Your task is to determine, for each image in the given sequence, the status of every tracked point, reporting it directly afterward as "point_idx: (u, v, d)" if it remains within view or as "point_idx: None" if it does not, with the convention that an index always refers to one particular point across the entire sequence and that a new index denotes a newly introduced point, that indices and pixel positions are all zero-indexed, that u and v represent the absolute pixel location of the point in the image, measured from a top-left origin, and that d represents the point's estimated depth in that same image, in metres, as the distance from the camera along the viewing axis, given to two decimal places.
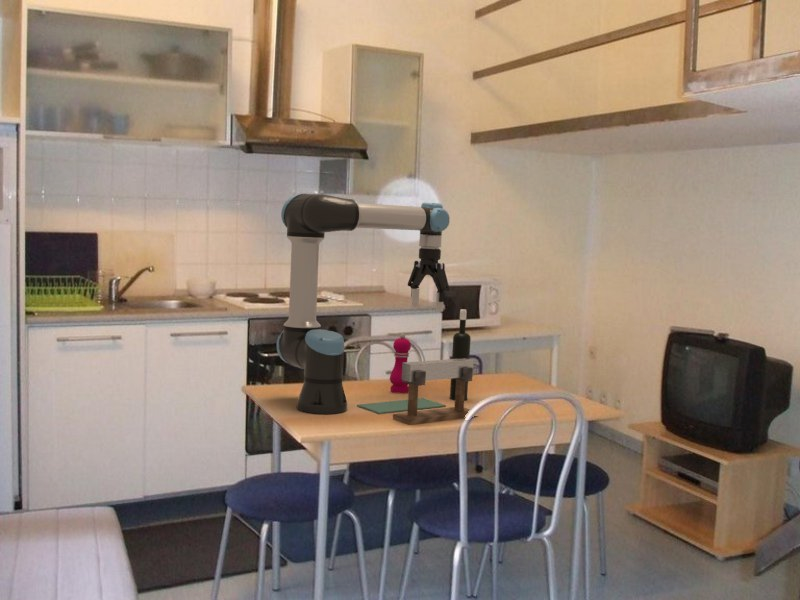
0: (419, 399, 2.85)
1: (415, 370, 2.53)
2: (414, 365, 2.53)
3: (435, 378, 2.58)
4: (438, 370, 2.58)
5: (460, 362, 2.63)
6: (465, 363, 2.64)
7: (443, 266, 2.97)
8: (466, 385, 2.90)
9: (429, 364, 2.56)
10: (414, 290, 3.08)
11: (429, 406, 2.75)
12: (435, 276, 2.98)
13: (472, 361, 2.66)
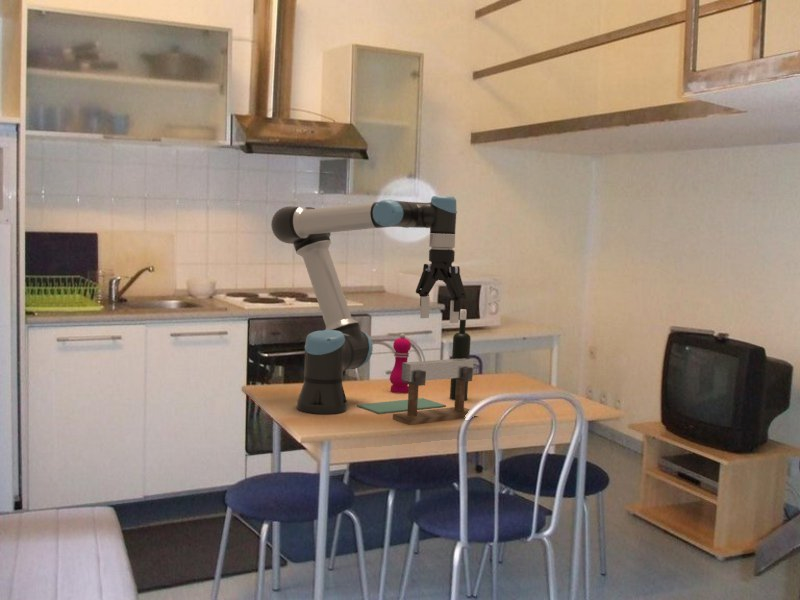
0: (419, 399, 2.85)
1: (415, 370, 2.53)
2: (414, 365, 2.53)
3: (435, 378, 2.58)
4: (438, 370, 2.58)
5: (460, 362, 2.63)
6: (465, 363, 2.64)
7: (457, 270, 2.54)
8: (466, 385, 2.90)
9: (429, 364, 2.56)
10: (424, 298, 2.65)
11: (429, 406, 2.75)
12: (449, 281, 2.55)
13: (472, 361, 2.66)
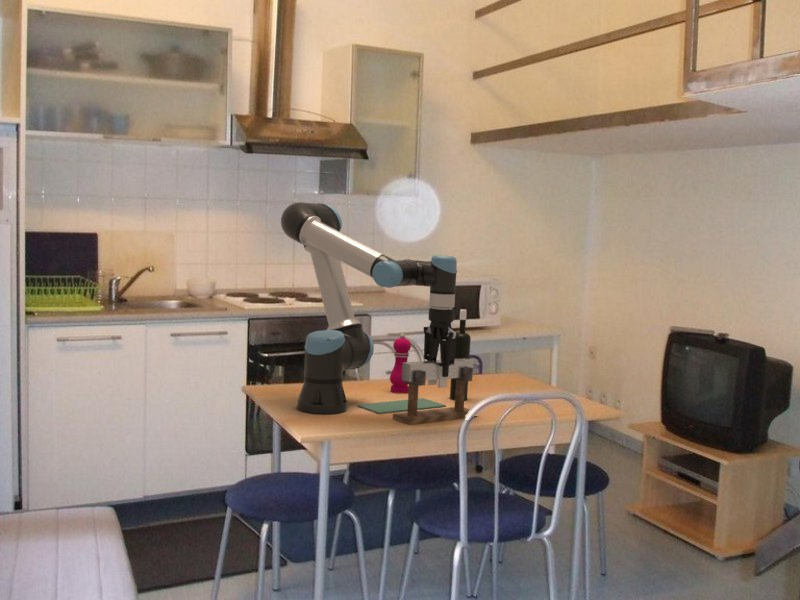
0: (419, 399, 2.85)
1: (415, 370, 2.53)
2: (414, 365, 2.53)
3: (435, 378, 2.58)
4: (438, 370, 2.58)
5: (460, 362, 2.63)
6: (465, 363, 2.64)
7: (455, 336, 2.55)
8: (466, 385, 2.90)
9: (429, 364, 2.56)
10: None
11: (429, 406, 2.75)
12: (443, 345, 2.57)
13: (472, 361, 2.66)
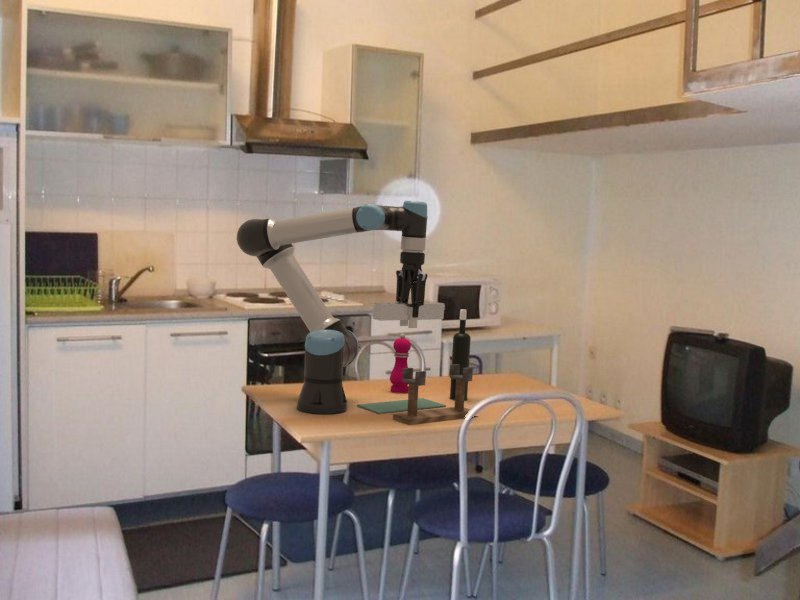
0: (419, 399, 2.85)
1: (385, 309, 2.64)
2: (385, 304, 2.64)
3: (405, 318, 2.69)
4: (408, 310, 2.69)
5: (431, 304, 2.74)
6: (435, 305, 2.75)
7: (425, 278, 2.66)
8: (466, 385, 2.90)
9: (400, 304, 2.67)
10: None
11: (429, 406, 2.75)
12: (414, 286, 2.68)
13: (443, 304, 2.77)
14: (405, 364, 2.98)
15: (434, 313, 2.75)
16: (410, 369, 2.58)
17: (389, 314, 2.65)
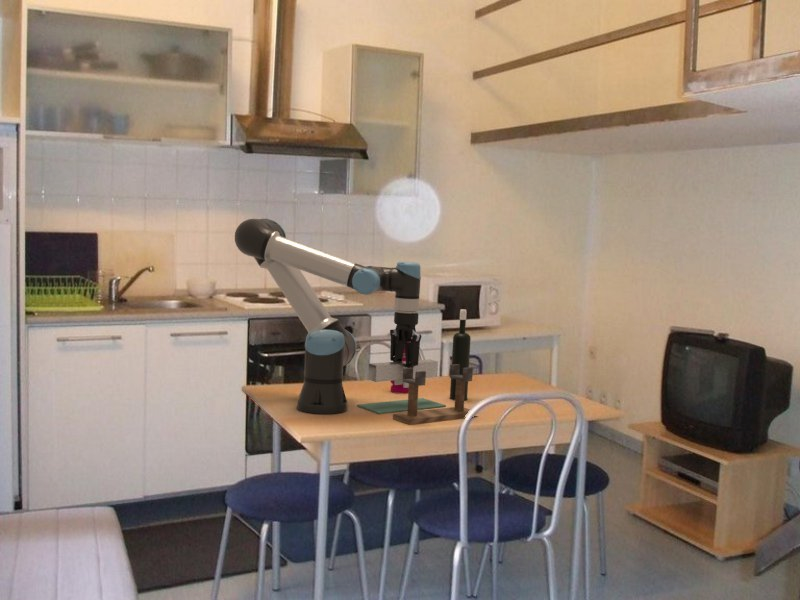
0: (419, 399, 2.85)
1: (381, 371, 2.67)
2: (380, 366, 2.66)
3: (400, 378, 2.72)
4: None
5: (424, 363, 2.77)
6: (429, 364, 2.78)
7: (419, 339, 2.69)
8: (466, 385, 2.90)
9: (394, 365, 2.70)
10: None
11: (429, 406, 2.75)
12: (408, 347, 2.71)
13: (437, 362, 2.80)
14: None
15: (428, 371, 2.78)
16: (410, 369, 2.58)
17: (384, 375, 2.68)
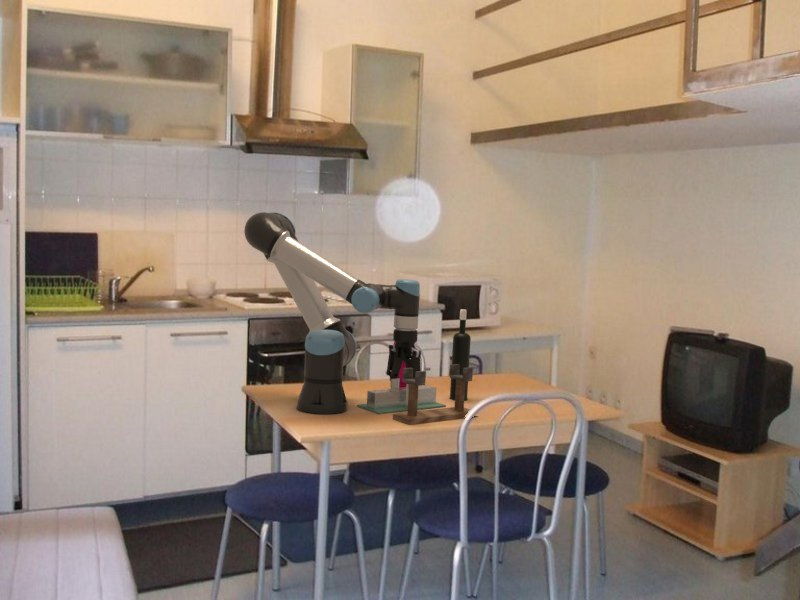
0: None
1: (379, 398, 2.68)
2: (378, 393, 2.67)
3: (399, 405, 2.72)
4: (401, 397, 2.73)
5: (423, 390, 2.78)
6: (428, 390, 2.79)
7: (418, 354, 2.69)
8: (466, 385, 2.90)
9: (393, 392, 2.70)
10: (394, 380, 2.77)
11: (429, 406, 2.75)
12: (409, 364, 2.71)
13: (435, 388, 2.81)
14: None
15: (427, 397, 2.79)
16: (410, 369, 2.58)
17: (382, 403, 2.68)
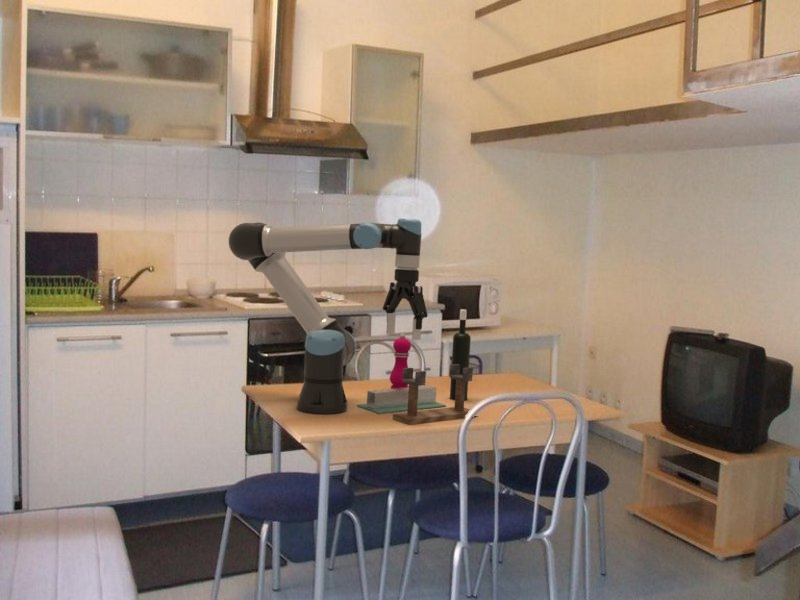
0: None
1: (379, 398, 2.68)
2: (378, 393, 2.67)
3: (399, 405, 2.72)
4: (401, 397, 2.73)
5: (423, 390, 2.78)
6: (428, 390, 2.79)
7: (420, 290, 2.67)
8: (466, 385, 2.90)
9: (393, 392, 2.70)
10: (390, 315, 2.78)
11: (429, 406, 2.75)
12: (412, 300, 2.69)
13: (435, 388, 2.81)
14: (405, 364, 2.98)
15: (427, 397, 2.79)
16: (410, 369, 2.58)
17: (382, 403, 2.68)
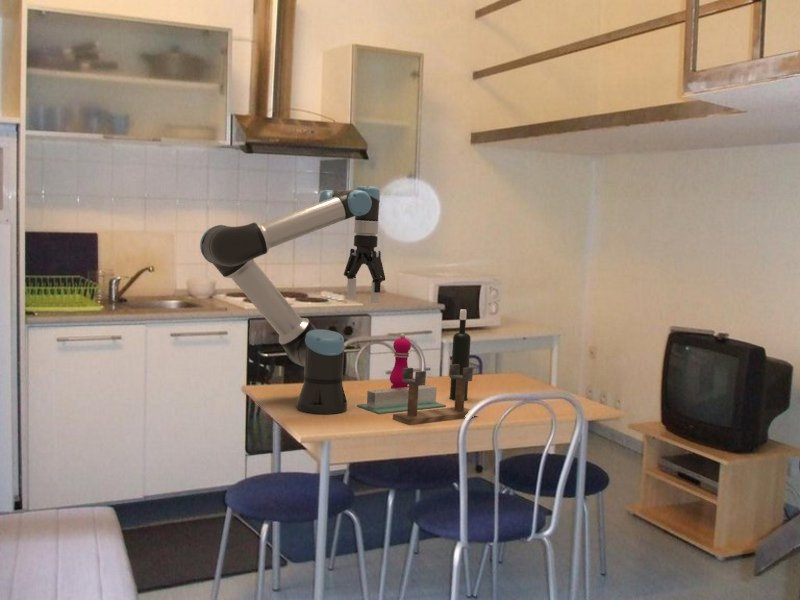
0: None
1: (379, 398, 2.68)
2: (378, 393, 2.67)
3: (399, 405, 2.72)
4: (401, 397, 2.73)
5: (423, 390, 2.78)
6: (428, 390, 2.79)
7: (378, 254, 2.77)
8: (466, 385, 2.90)
9: (393, 392, 2.70)
10: (350, 280, 2.87)
11: (429, 406, 2.75)
12: (371, 265, 2.78)
13: (435, 388, 2.81)
14: (405, 364, 2.98)
15: (427, 397, 2.79)
16: (410, 369, 2.58)
17: (382, 403, 2.68)
